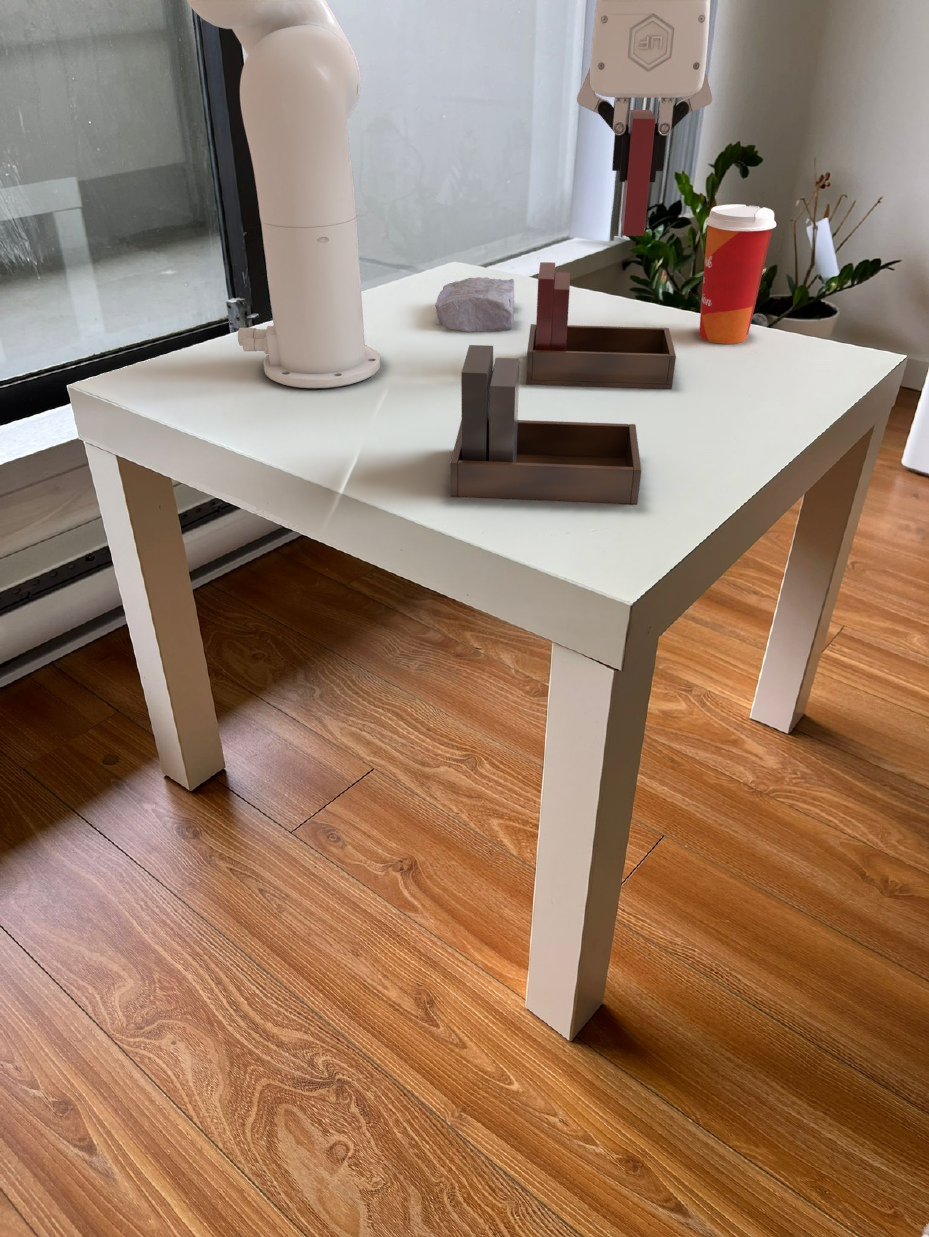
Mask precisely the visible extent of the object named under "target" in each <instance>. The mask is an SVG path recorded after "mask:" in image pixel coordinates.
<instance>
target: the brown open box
mask: <svg viewBox="0 0 929 1237" xmlns="http://www.w3.org/2000/svg"><path fill="white" fill-rule="evenodd" d="M570 285H571V273H570V272H559V271H558V272H556V262H549V261H548V262H547V261H541V262H540V263H539V269H538V276H537V298H536V320H535V321H536V322H535V323H536V324H534V323H531V324H530V328H529V333H528V334H529V335H528V342H527V351H526V374H525V378H526V379H525V384H526V385H537V386H538V385H541V386H568V387H569V386H570V387H571V386H573V387H598V388H599V387H602V388H631V389H632V388H633V389H634V388H636V389H660V390H661V389H662V390H672V389H673V384H674V383H673V382H674V376H675V368H676V360H677V355H676V351H675V347H674V343H673V340H672V336H671V331H670V328H669V327H653V326H652V327H651V326H650V327H649V326H646V327H645V326H613V325H611V326H609V325H579V324H578V325H575V324H574V325H573V324H569V307H570V289H571V286H570Z"/></svg>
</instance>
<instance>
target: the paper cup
mask: <svg viewBox="0 0 929 1237" xmlns="http://www.w3.org/2000/svg"><path fill="white" fill-rule="evenodd" d="M704 223H705V224H706V225H707V229H706V240H705V252H704V265H703V278H702V288H701V290H702V292H701V304H700V315H699V316H700V317H699V337H700V338H701V339H703V340H704V341H706V342H710V343H714V344H722V345H733V344H735V345H736V344H740V343H744V342H746V340H747V338H748V336H749V332H750V329H751V325H752V320H753V316H754V312H755V309H756V308H755V307H756V303H757V299H758V296H759V295H758V294H759V290H760V287H761V281H762V277H763V273H764V268H765V263H766V259H767V255H768V251H769V247H770V242H771V238H772V233H773V229H774V228H776V227H777V223H776V220H775V211H774V210H773V209H771V208H769V207H764V206H763V207H760V206H758V205H751V204H750V205H746V204H738V203H737V204H736V203H735V204H722V205H716V206H713V207H712V208H711V209H710V212H709V215H708V216H707V218H706V219H705V220H704Z"/></svg>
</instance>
